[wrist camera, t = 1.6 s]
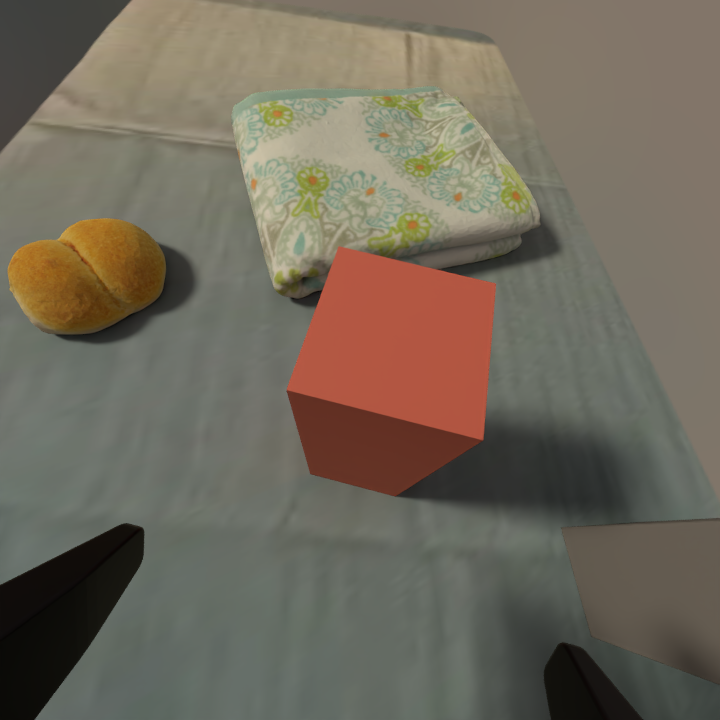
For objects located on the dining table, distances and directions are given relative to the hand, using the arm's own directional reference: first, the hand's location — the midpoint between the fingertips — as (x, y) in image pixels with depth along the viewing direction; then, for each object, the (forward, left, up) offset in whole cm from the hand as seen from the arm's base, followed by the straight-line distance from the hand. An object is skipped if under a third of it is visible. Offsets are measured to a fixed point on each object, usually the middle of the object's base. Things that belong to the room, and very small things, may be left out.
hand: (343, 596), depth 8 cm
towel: (+25, -11, -13) cm, 31 cm away
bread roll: (+21, +11, -13) cm, 27 cm away
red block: (+5, -3, -12) cm, 14 cm away
